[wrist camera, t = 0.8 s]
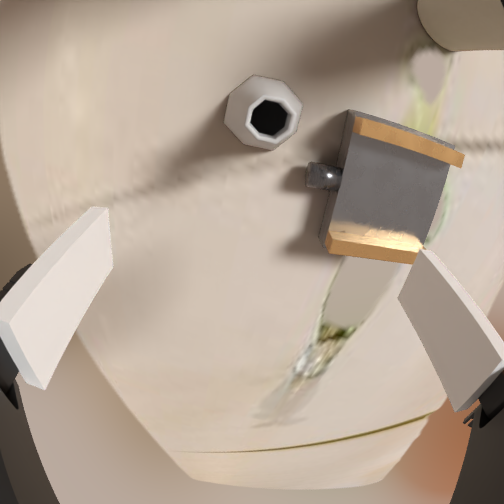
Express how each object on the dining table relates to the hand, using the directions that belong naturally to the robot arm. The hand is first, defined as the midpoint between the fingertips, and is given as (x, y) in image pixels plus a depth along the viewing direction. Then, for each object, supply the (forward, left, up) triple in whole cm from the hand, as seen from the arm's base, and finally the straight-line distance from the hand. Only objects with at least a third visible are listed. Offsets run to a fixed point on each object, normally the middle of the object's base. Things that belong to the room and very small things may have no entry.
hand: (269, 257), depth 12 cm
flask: (-5, 0, -19) cm, 20 cm away
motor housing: (0, +12, -19) cm, 23 cm away
